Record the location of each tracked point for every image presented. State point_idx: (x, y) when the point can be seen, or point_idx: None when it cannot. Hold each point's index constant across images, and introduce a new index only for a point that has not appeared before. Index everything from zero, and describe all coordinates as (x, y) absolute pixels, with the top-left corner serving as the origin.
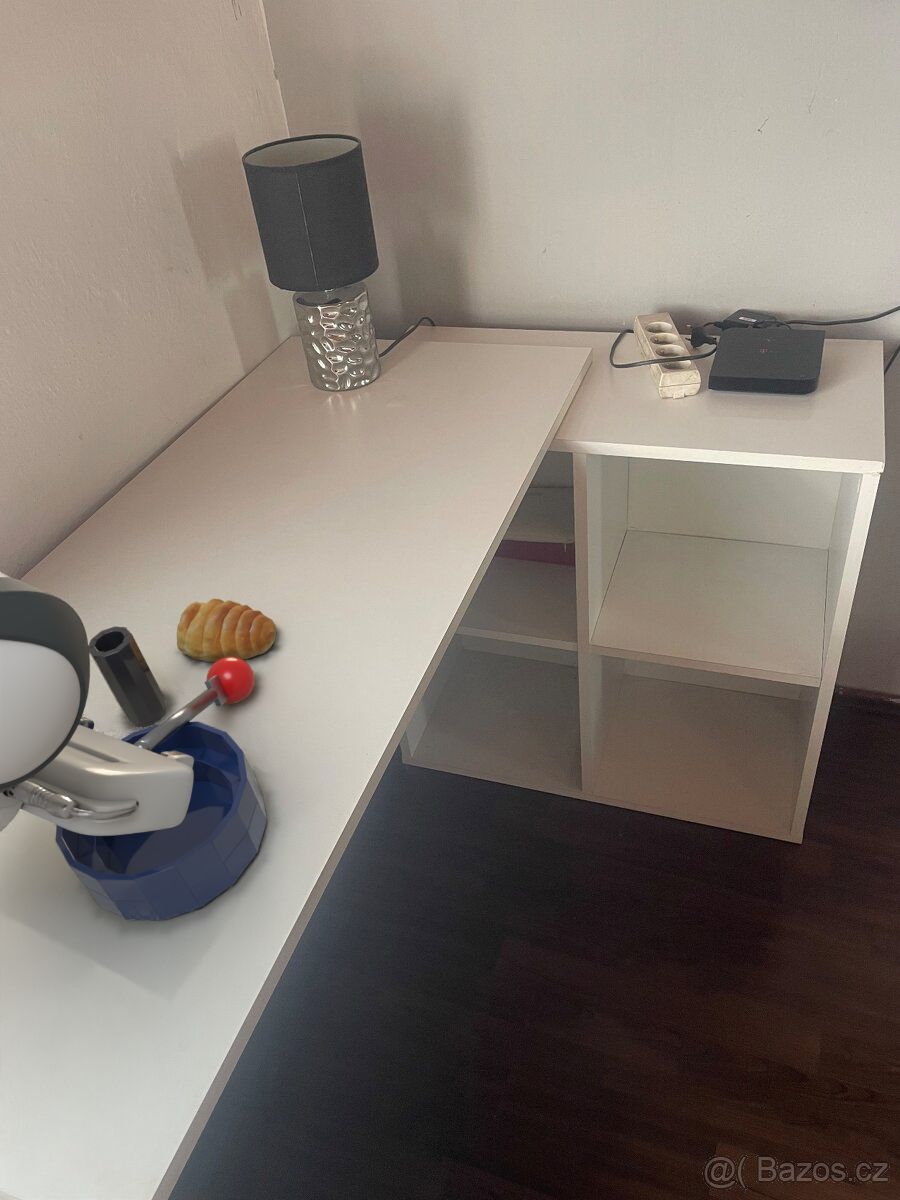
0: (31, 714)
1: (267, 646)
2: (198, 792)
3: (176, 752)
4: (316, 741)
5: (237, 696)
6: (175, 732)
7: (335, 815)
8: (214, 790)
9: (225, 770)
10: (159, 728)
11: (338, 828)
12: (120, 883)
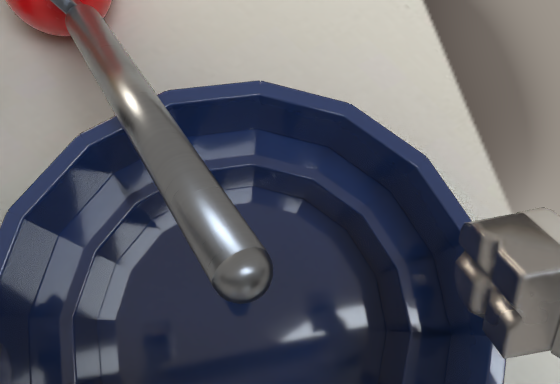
0: None
1: None
2: None
3: (503, 229)
4: (306, 25)
5: (104, 7)
6: (113, 145)
7: (457, 126)
8: None
9: (272, 161)
10: (188, 168)
11: (481, 143)
12: None
